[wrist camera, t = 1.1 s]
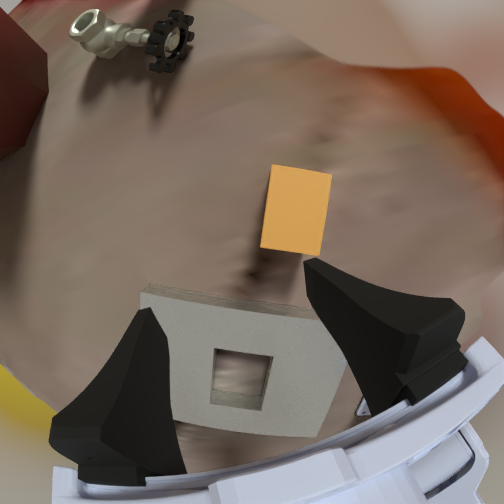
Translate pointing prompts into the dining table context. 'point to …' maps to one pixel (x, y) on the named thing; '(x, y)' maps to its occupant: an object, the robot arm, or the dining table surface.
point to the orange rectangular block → (295, 210)
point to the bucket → (19, 84)
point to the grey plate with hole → (248, 341)
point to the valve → (134, 37)
